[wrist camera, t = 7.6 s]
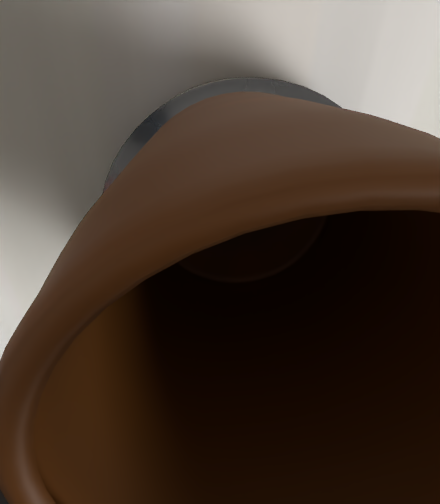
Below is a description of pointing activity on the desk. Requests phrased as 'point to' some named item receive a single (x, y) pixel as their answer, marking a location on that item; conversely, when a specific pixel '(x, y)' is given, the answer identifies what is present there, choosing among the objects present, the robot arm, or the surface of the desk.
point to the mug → (240, 320)
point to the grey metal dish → (195, 95)
